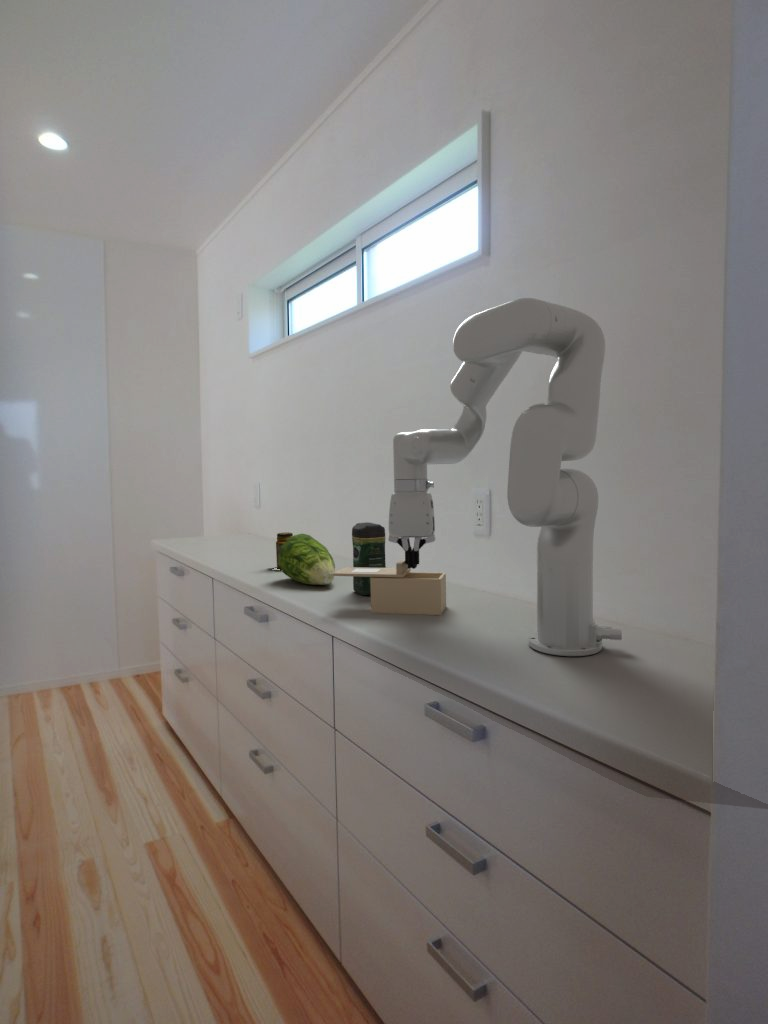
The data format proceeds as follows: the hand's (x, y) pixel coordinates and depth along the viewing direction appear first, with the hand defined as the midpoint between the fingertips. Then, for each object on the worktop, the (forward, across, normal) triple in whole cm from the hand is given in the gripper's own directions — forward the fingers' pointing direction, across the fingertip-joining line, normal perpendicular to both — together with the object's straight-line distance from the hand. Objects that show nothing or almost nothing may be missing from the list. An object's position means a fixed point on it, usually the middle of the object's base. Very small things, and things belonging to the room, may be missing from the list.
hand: (412, 567), depth 134 cm
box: (+10, +1, 0) cm, 10 cm away
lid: (+2, +10, 0) cm, 10 cm away
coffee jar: (+10, +15, -17) cm, 25 cm away
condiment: (+10, +54, -50) cm, 74 cm away
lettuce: (+10, +36, -28) cm, 46 cm away
